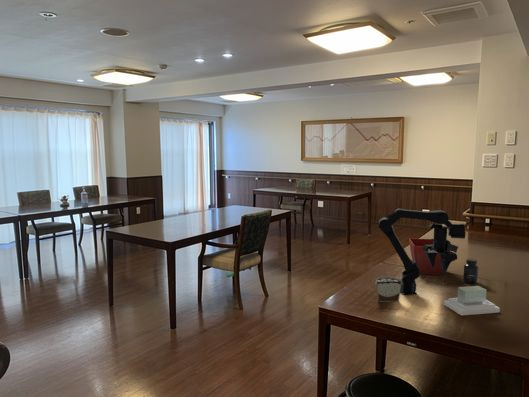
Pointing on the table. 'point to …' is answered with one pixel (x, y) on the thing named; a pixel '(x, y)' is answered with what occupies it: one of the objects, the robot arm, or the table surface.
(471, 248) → the table surface
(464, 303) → the block
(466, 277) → the supplement bottle
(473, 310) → the white rectangular tray
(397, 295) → the food container
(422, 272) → the plant pot
